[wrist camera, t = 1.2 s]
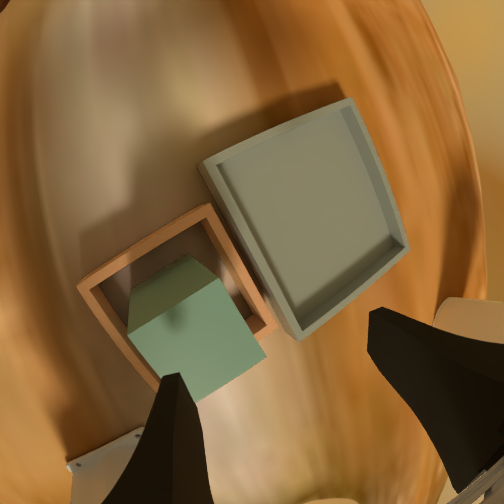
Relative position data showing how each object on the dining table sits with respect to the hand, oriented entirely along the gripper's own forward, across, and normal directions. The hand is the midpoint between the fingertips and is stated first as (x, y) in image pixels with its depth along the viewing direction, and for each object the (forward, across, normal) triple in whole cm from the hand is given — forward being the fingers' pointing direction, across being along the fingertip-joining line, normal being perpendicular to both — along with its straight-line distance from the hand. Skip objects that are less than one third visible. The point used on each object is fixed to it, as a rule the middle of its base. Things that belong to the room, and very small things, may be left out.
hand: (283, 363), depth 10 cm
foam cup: (+12, -24, +17) cm, 32 cm away
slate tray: (+13, -7, -1) cm, 15 cm away
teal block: (+10, +4, +2) cm, 11 cm away
